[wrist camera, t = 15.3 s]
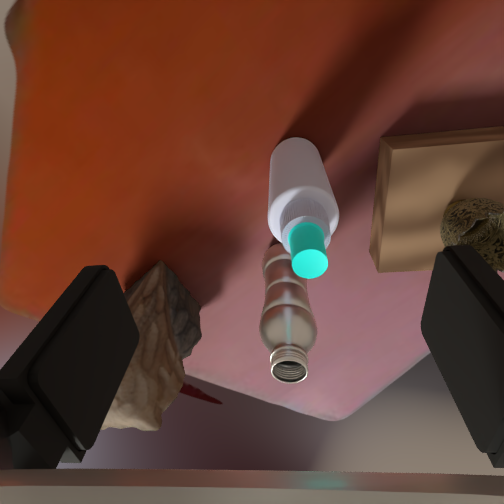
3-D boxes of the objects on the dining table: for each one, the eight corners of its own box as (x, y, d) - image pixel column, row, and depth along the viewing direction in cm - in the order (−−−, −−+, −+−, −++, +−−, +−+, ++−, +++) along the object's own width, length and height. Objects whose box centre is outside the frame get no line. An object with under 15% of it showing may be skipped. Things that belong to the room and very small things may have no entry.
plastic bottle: (291, 228, 47) (300, 338, 30) (315, 262, 50) (335, 380, 33) (253, 249, 49) (241, 362, 32) (278, 281, 52) (279, 399, 35)
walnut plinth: (380, 137, 39) (392, 149, 35) (528, 123, 38) (560, 135, 33) (369, 251, 48) (378, 272, 44) (489, 245, 46) (510, 266, 42)
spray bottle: (266, 141, 40) (258, 232, 22) (317, 132, 39) (353, 219, 21) (274, 187, 44) (273, 301, 25) (321, 180, 43) (356, 293, 24)
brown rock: (210, 313, 56) (182, 431, 40) (152, 336, 60) (104, 453, 44) (163, 258, 51) (108, 369, 34) (103, 288, 55) (26, 400, 38)
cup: (484, 236, 40) (526, 277, 33) (419, 242, 41) (447, 283, 34) (500, 176, 36) (552, 209, 29) (428, 184, 37) (462, 217, 30)
